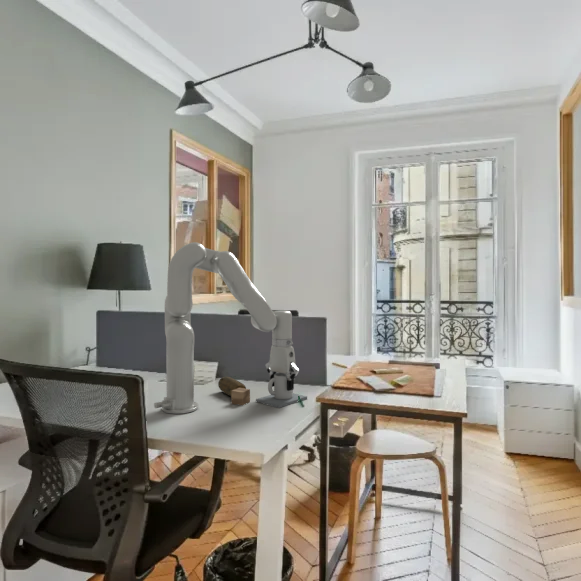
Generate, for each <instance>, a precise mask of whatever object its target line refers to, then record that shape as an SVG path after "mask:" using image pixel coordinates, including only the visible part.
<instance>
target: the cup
mask: <svg viewBox="0 0 581 581" xmlns="http://www.w3.org/2000/svg"><path fill="white" fill-rule="evenodd" d="M290 376H291V375H290ZM287 380H288V378H287V375H286V374H284V373H278V372H277V373H275V374H274V378H272V379H271V380H270V379H269V381H268V385H267V389H268V390H267V391H268V393H269V395H274V397H275V398H276V399H280V400H286V399H291V398H292V397H293V393H294V389H293V390H290V391H287ZM273 382H274V386H273V387H274V388H273V387H272V384H273Z"/></svg>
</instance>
